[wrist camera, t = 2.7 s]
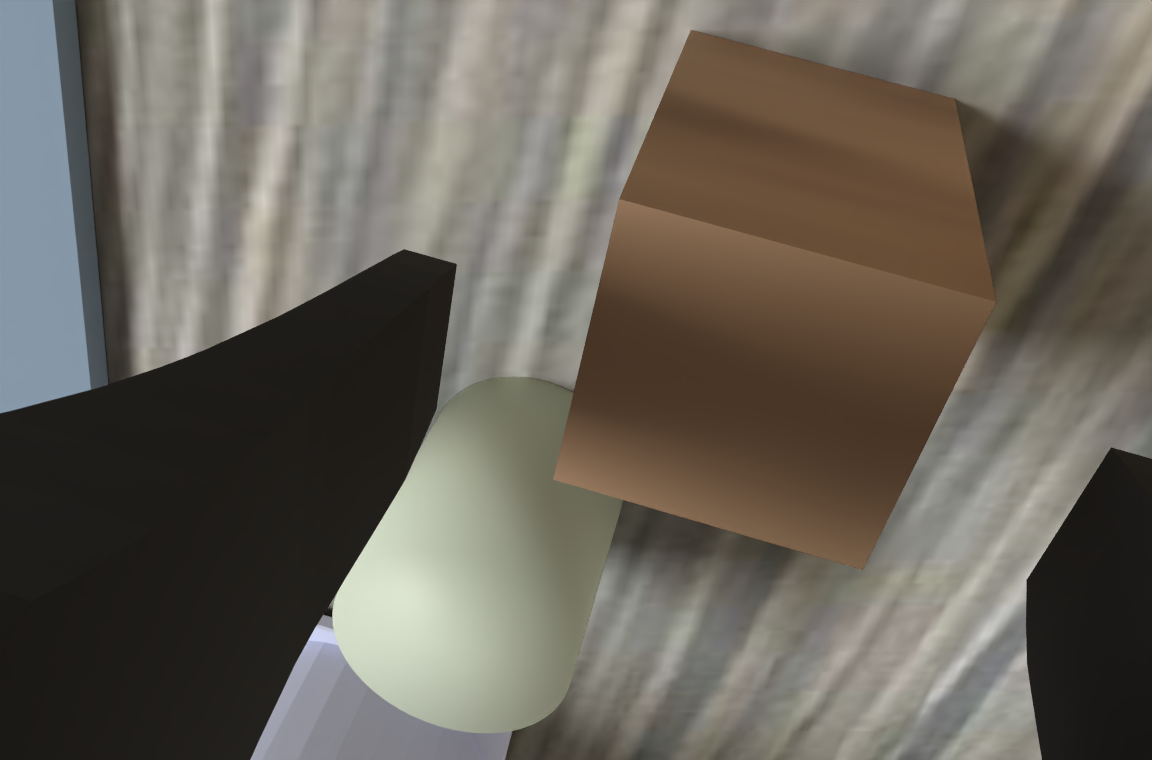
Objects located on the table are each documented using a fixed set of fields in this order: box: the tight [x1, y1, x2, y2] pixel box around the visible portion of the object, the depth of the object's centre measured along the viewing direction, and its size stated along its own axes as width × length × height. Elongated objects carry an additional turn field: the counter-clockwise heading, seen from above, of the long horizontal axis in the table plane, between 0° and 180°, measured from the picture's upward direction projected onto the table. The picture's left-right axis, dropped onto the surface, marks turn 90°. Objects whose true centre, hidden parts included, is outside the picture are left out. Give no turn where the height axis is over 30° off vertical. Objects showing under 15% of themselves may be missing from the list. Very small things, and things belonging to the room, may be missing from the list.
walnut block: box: [553, 30, 996, 570], centre depth 15 cm, size 4×4×6 cm
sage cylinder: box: [332, 377, 623, 733], centre depth 19 cm, size 4×4×5 cm
